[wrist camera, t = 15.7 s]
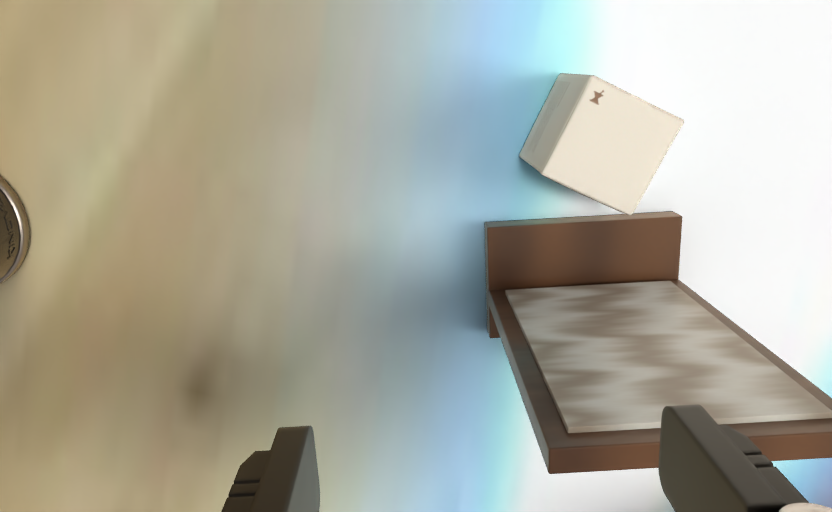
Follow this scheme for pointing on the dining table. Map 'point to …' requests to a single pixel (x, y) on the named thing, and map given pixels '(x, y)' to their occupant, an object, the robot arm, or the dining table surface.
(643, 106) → the product box
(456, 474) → the dining table surface
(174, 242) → the dining table surface
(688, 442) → the robot arm
